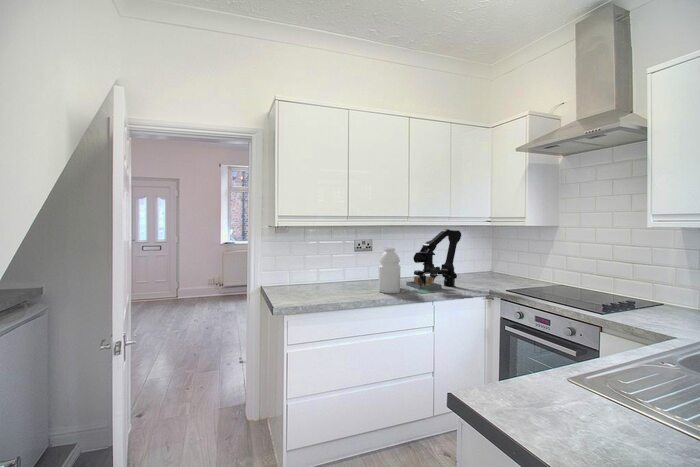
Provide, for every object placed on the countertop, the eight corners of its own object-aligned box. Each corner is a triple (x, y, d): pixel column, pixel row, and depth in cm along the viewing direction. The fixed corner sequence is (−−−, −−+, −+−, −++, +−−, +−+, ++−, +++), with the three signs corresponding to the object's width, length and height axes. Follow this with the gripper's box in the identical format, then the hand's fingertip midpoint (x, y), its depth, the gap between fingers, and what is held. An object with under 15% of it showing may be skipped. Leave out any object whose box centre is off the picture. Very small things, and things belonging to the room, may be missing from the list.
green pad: (425, 290, 218) (425, 289, 218) (434, 293, 209) (434, 291, 209) (412, 291, 215) (412, 290, 215) (420, 294, 205) (420, 293, 205)
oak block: (429, 286, 227) (429, 276, 226) (433, 288, 222) (433, 277, 222) (422, 287, 225) (422, 276, 225) (426, 288, 220) (427, 277, 220)
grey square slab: (426, 284, 240) (426, 280, 240) (441, 289, 223) (441, 284, 223) (406, 286, 234) (406, 281, 234) (420, 290, 217) (420, 286, 217)
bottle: (404, 291, 214) (405, 248, 213) (389, 294, 205) (389, 248, 205) (389, 288, 225) (389, 246, 224) (373, 291, 216) (374, 247, 216)
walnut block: (420, 284, 237) (420, 276, 237) (424, 285, 232) (424, 277, 232) (414, 285, 235) (414, 276, 235) (417, 286, 231) (418, 277, 230)
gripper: (422, 263, 212) (422, 288, 213) (447, 262, 219) (447, 286, 219) (413, 262, 223) (413, 285, 223) (437, 261, 229) (437, 283, 230)
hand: (428, 285), depth 223 cm, fingers closed on oak block, 5 cm apart
